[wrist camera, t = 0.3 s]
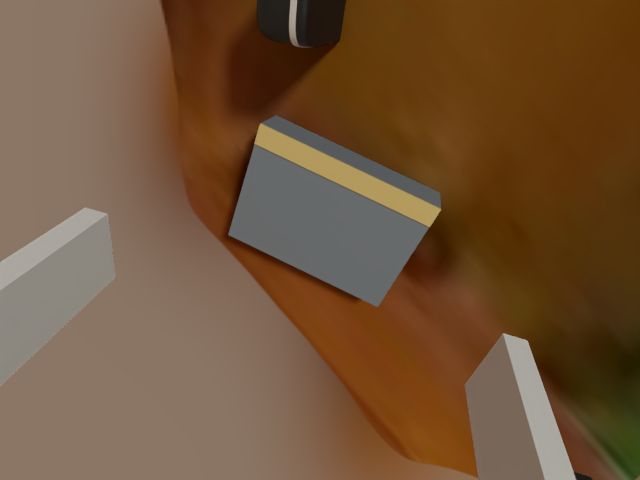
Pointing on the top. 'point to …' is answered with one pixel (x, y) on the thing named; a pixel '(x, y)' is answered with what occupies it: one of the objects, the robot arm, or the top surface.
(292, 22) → the battery charger
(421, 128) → the top surface
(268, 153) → the dock
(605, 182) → the top surface
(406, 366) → the top surface
